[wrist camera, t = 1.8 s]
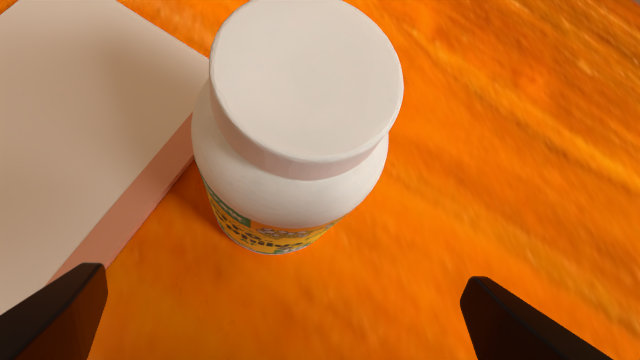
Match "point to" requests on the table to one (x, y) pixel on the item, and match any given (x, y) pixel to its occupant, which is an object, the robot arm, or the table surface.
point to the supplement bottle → (294, 119)
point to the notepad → (85, 133)
